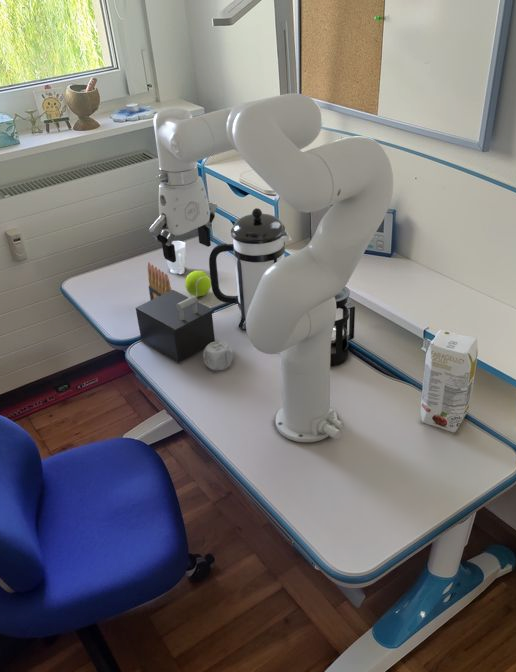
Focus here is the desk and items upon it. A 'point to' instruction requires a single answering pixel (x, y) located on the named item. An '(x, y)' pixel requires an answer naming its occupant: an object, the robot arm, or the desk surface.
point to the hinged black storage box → (176, 337)
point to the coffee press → (250, 256)
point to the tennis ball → (198, 283)
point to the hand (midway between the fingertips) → (188, 252)
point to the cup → (178, 258)
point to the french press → (342, 329)
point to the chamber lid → (174, 310)
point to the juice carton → (448, 379)
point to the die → (217, 355)
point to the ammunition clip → (157, 282)
